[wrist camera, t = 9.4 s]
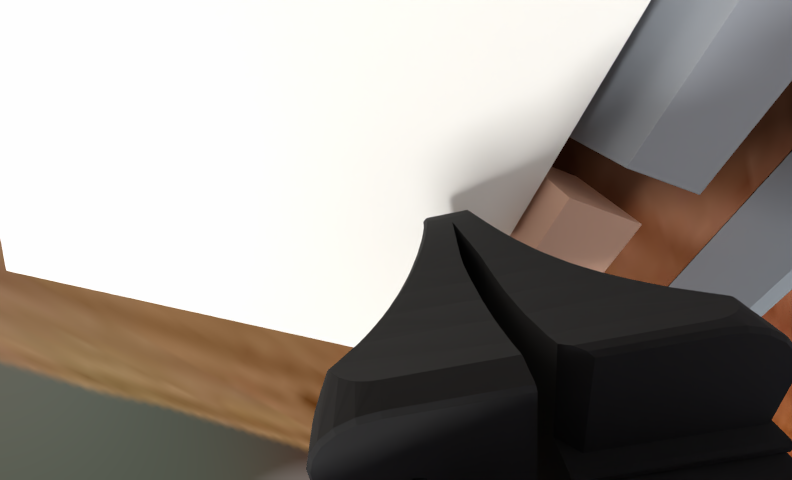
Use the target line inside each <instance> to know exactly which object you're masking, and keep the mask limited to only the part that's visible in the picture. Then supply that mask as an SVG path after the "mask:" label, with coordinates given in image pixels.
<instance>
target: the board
mask: <svg viewBox="0 0 792 480" xmlns="http://www.w3.org/2000/svg"><path fill="white" fill-rule="evenodd" d="M650 1H651V0H0V238H1V244H2V249H3V255H4V260H5V266H6V271H11V272H15V273H20V274H24V275H29V276H33V277H38V278H42V279H47V280H51V281H56V282H60V283H65V284H69V285H74V286H78V287H83V288H88V289H92V290H97V291H101V292H106V293H110V294H115V295H119V296H124V297H128V298H133V299H137V300H142V301H146V302H151V303H156V304H160V305H165V306H169V307H174V308H178V309H183V310H187V311H192V312H196V313H201V314H205V315H210V316H214V317H219V318H223V319H228V320H233V321H237V322H242V323H246V324H251V325H255V326H260V327H264V328H269V329H273V330H278V331H282V332H287V333H291V334H296V335H300V336H305V337H310V338H314V339H319V340H323V341H328V342H332V343H337V344H341V345H346V346H350V347H355V346H356V345H357V344H358V343H359V342H360V341H361V340H362V339H363V338H364V337H365V336H366V335H367V334H368V333H369V332H370V331H371V329H372V328H373V327H374V326H375V325H376V324H377V323H378V321H379V320H380V319H381V318H382V317H383V315H384V314H385V313H386V311H387V310H388V309H389V307H390V306H391V304H392V303H393V301H394V300H395V298H396V297H397V295H398V293H399V292H400V290H401V288H402V287H403V285H404V283H405V281H406V279H407V277H408V275H409V273H410V271H411V268H412V266H413V264H414V261H415V259H416V256H417V253H418V250H419V247H420V244H421V240H422V235H423V229H424V224H423V222H424V220H425V219H426V218H429V217H434V216H439V215H444V214H449V213H454V212H459V211H464V210H468V211H470V212H472V213H473V214H475V215H476V216H478V217H479V218H481V219H482V220H484V221H485V222H487V223H489V224H490V225H492V226H493V227H495V228H497V229H498V230H500V231H502V232H503V233H505V234H507V235H509V236H510V235H511V233H512V231H513V230H514V228H515V226H516V225H517V223H518V221H519V220H520V218H521V216H522V215H523V213H524V211H525V210H526V208H527V206H528V205H529V203H530V201H531V200H532V198H533V196H534V195H535V193H536V191H537V190H538V188H539V186H540V185H541V183H542V181H543V180H544V178H545V176H546V175H547V173H548V171H549V170H550V168H551V166H552V165H553V163H554V161H555V160H556V158H557V156H558V155H559V153H560V151H561V150H562V148H563V146H564V145H565V143H566V141H567V140H568V138H569V136H570V135H571V133H572V131H573V130H574V128H575V126H576V125H577V123H578V121H579V120H580V118H581V116H582V115H583V113H584V111H585V110H586V108H587V106H588V104H589V103H590V101H591V99H592V98H593V96H594V94H595V93H596V91H597V89H598V88H599V86H600V84H601V83H602V81H603V79H604V78H605V76H606V74H607V73H608V71H609V69H610V68H611V66H612V64H613V63H614V61H615V59H616V58H617V56H618V54H619V53H620V51H621V49H622V48H623V46H624V44H625V43H626V41H627V39H628V38H629V36H630V34H631V33H632V31H633V29H634V28H635V26H636V24H637V23H638V21H639V19H640V18H641V16H642V14H643V13H644V11H645V9H646V8H647V6H648V4H649V3H650Z"/></svg>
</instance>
